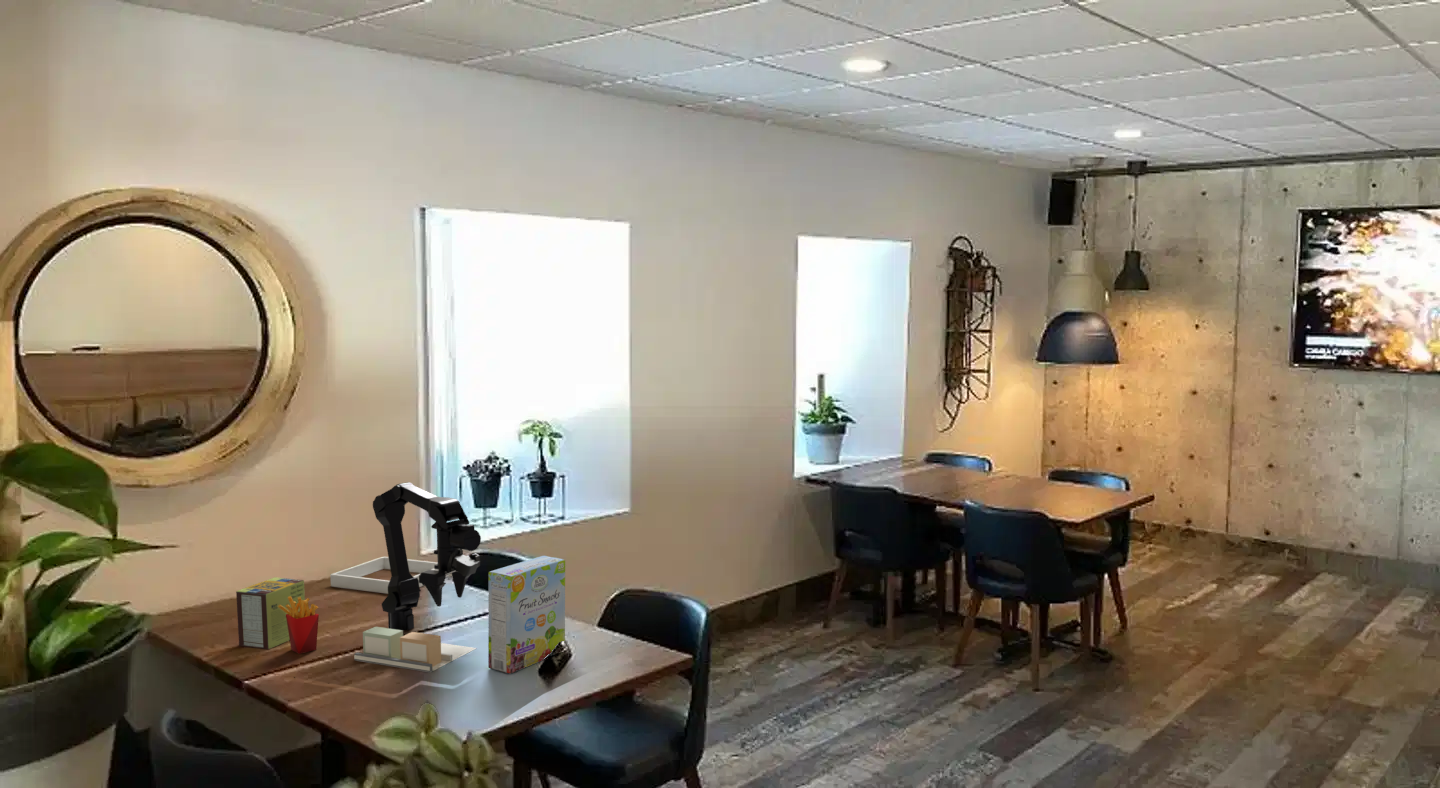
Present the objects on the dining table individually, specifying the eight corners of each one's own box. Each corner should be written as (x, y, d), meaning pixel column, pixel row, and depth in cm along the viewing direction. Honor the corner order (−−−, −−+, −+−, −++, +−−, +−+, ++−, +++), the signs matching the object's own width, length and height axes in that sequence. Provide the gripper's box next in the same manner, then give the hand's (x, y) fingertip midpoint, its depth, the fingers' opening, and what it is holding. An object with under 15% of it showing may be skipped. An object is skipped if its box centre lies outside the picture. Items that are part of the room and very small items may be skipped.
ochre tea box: (441, 662, 284) (440, 635, 284) (429, 668, 280) (428, 641, 279) (413, 657, 288) (412, 631, 287) (400, 663, 283) (399, 637, 282)
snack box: (512, 676, 276) (510, 576, 274) (487, 669, 281) (484, 571, 278) (568, 651, 295) (566, 557, 292) (543, 646, 299) (541, 553, 297)
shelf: (354, 663, 286) (354, 653, 286) (404, 640, 305) (404, 631, 304) (429, 675, 277) (429, 665, 277) (476, 651, 295) (476, 641, 295)
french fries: (310, 644, 302) (308, 590, 300) (323, 651, 296) (321, 596, 294) (278, 651, 296) (276, 597, 294) (291, 658, 290) (289, 603, 288)
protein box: (307, 633, 312) (304, 579, 310) (268, 649, 297) (265, 594, 296) (277, 629, 315) (274, 576, 314) (237, 646, 301) (234, 590, 299)
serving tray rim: (330, 586, 360) (330, 574, 360) (383, 567, 384) (383, 556, 384) (399, 595, 350) (399, 582, 349) (449, 575, 373) (449, 563, 373)
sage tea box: (403, 656, 289) (402, 630, 288) (391, 662, 284) (390, 636, 284) (376, 652, 292) (375, 626, 292) (363, 658, 288) (362, 632, 287)
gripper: (451, 556, 287) (452, 614, 288) (492, 540, 304) (493, 596, 305) (416, 552, 291) (418, 609, 292) (459, 537, 308) (460, 591, 309)
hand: (449, 601), depth 300 cm, fingers open, 9 cm apart
